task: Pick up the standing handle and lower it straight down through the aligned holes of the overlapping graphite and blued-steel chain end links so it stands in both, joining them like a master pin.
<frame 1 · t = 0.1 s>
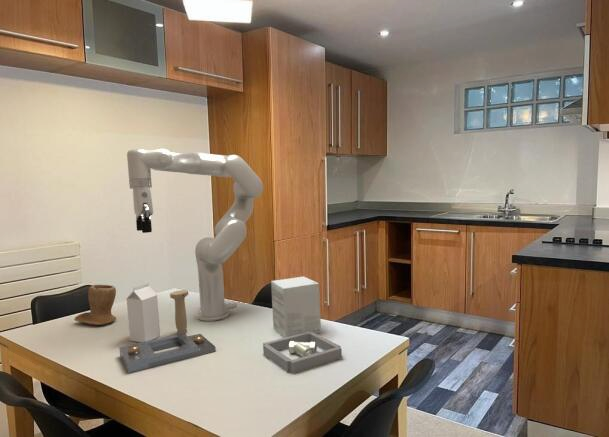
hand: (144, 231, 159), 37 cm above the table, tool pointing down, fingers open, 9 cm apart
upper end link: (168, 353, 138), on the table
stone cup: (99, 322, 175), on the table
milk carton: (145, 339, 153), on the table
pipe fitting: (302, 356, 133), on the table
lower end link: (176, 347, 140), in the upper end link
parts fence: (301, 355, 132), on the table
handle: (182, 334, 157), on the table
supplement box: (296, 331, 155), on the table
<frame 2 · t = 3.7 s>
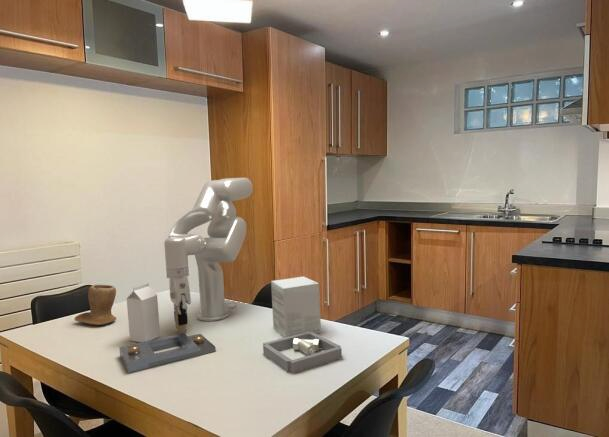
hand: (181, 322, 156), 4 cm above the table, tool pointing down, fingers closed on handle, 3 cm apart
pipe fitting: (305, 353, 135), on the table
handle: (182, 334, 157), on the table, touching gripper
everything else where it was.
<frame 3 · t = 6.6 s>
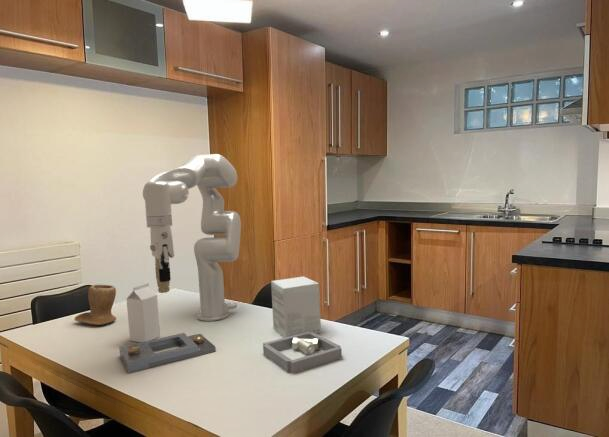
hand: (163, 279, 137), 24 cm above the table, tool pointing down, fingers closed on handle, 3 cm apart
handle: (164, 292, 138), point 19 cm above the table, touching gripper
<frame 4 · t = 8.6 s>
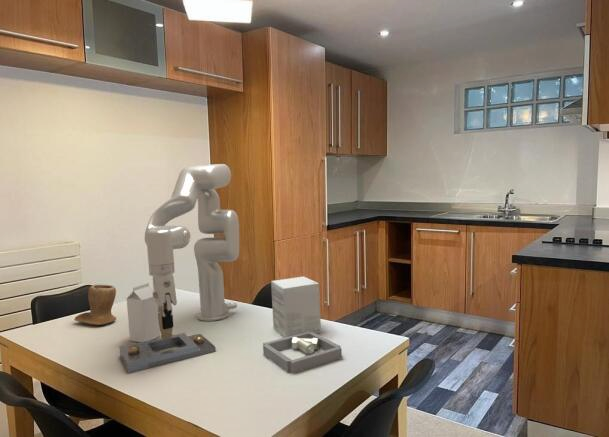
hand: (166, 325, 138), 9 cm above the table, tool pointing down, fingers closed on handle, 3 cm apart
pipe fitting: (304, 352, 136), on the table, touching parts fence
handle: (166, 338, 138), point 5 cm above the table, touching gripper
everything else where it was.
when the fingers open (5 cm above the table, at t = 9.6 s): handle drops 1 cm, on the table.
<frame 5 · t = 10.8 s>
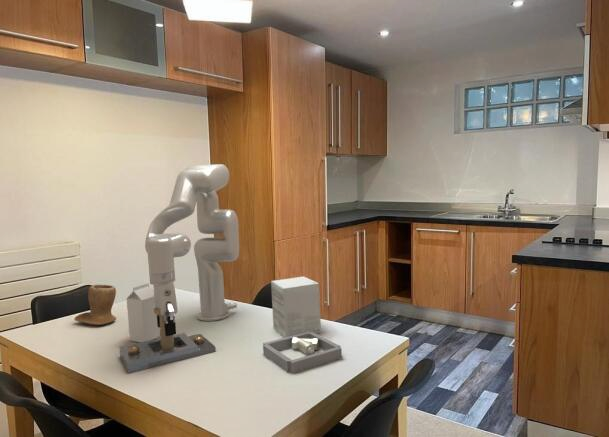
hand: (166, 330, 138), 7 cm above the table, tool pointing down, fingers open, 9 cm apart
pipe fitting: (304, 352, 136), on the table
handle: (168, 354, 139), on the table
everything else where it was.
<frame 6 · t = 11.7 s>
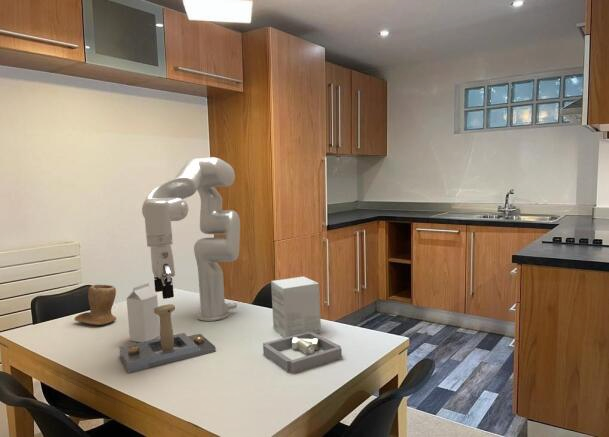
hand: (164, 294, 137), 19 cm above the table, tool pointing down, fingers open, 9 cm apart
pipe fitting: (304, 352, 136), on the table, touching parts fence
everything else where it was.
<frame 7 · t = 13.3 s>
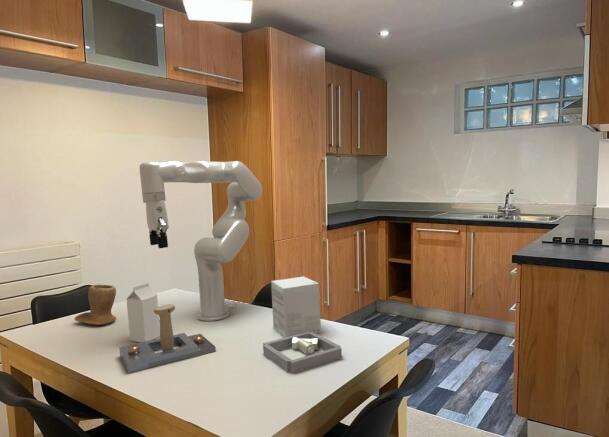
hand: (159, 246, 155), 32 cm above the table, tool pointing down, fingers open, 9 cm apart
pipe fitting: (304, 352, 136), on the table
everything else where it was.
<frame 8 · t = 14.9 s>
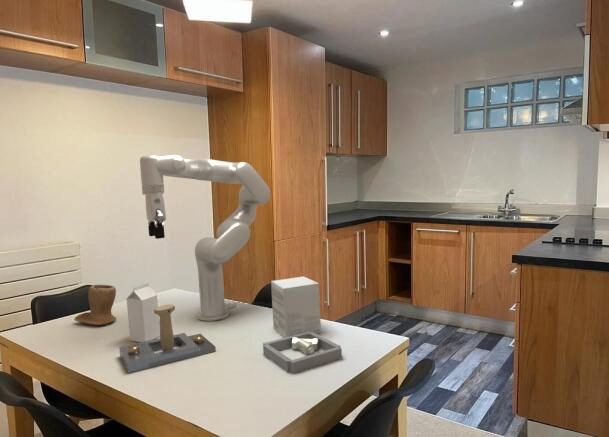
hand: (156, 237, 160), 34 cm above the table, tool pointing down, fingers open, 9 cm apart
nothing on the table moved.
at the end: handle 0.2 cm from the target spot, on the table; handle tilted 0°; the gripper is holding nothing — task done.
